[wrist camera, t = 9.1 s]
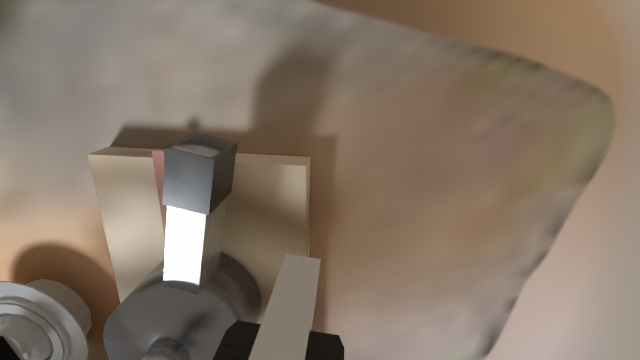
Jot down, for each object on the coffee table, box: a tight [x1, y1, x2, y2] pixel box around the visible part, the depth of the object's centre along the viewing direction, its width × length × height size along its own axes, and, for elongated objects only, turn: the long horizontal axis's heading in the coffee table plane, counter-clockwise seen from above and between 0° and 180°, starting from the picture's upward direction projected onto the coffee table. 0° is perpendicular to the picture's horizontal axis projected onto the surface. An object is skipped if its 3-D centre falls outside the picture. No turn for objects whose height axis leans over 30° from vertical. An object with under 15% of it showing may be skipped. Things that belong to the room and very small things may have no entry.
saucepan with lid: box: [103, 133, 262, 360], centre depth 19 cm, size 16×8×7 cm, turn 168°
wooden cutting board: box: [88, 147, 311, 324], centre depth 25 cm, size 20×14×2 cm
